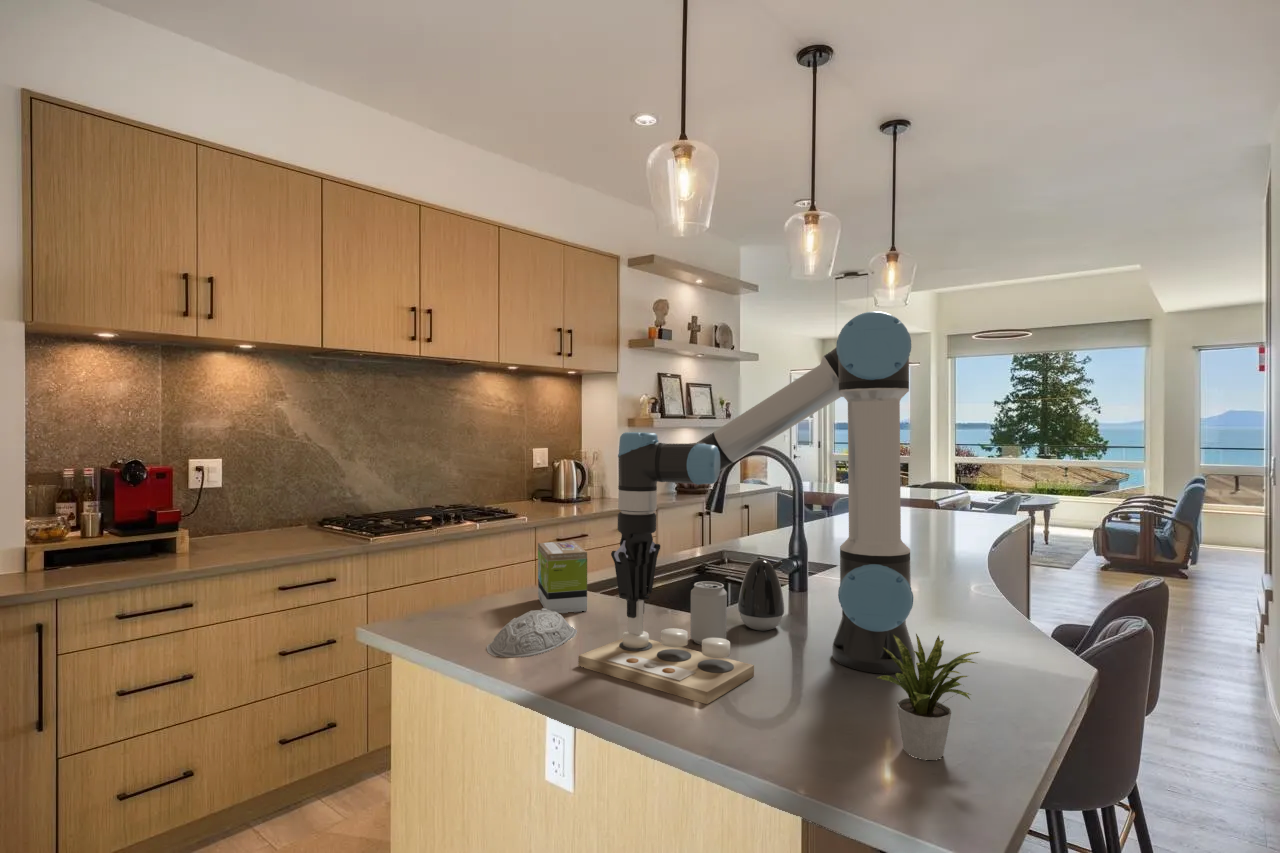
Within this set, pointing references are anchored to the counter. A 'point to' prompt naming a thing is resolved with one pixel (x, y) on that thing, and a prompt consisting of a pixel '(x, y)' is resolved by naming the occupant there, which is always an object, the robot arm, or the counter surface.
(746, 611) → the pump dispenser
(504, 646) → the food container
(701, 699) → the button board
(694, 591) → the can
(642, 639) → the button
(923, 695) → the house plant
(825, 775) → the counter surface
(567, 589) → the tea box
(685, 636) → the button
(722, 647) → the button
